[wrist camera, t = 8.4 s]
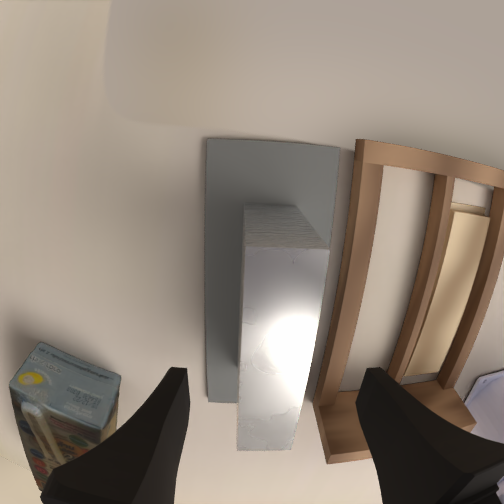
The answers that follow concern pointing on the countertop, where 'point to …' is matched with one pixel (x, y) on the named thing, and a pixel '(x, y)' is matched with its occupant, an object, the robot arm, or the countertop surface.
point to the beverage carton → (62, 408)
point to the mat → (231, 229)
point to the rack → (353, 283)
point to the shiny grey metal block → (276, 322)
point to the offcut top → (449, 290)
